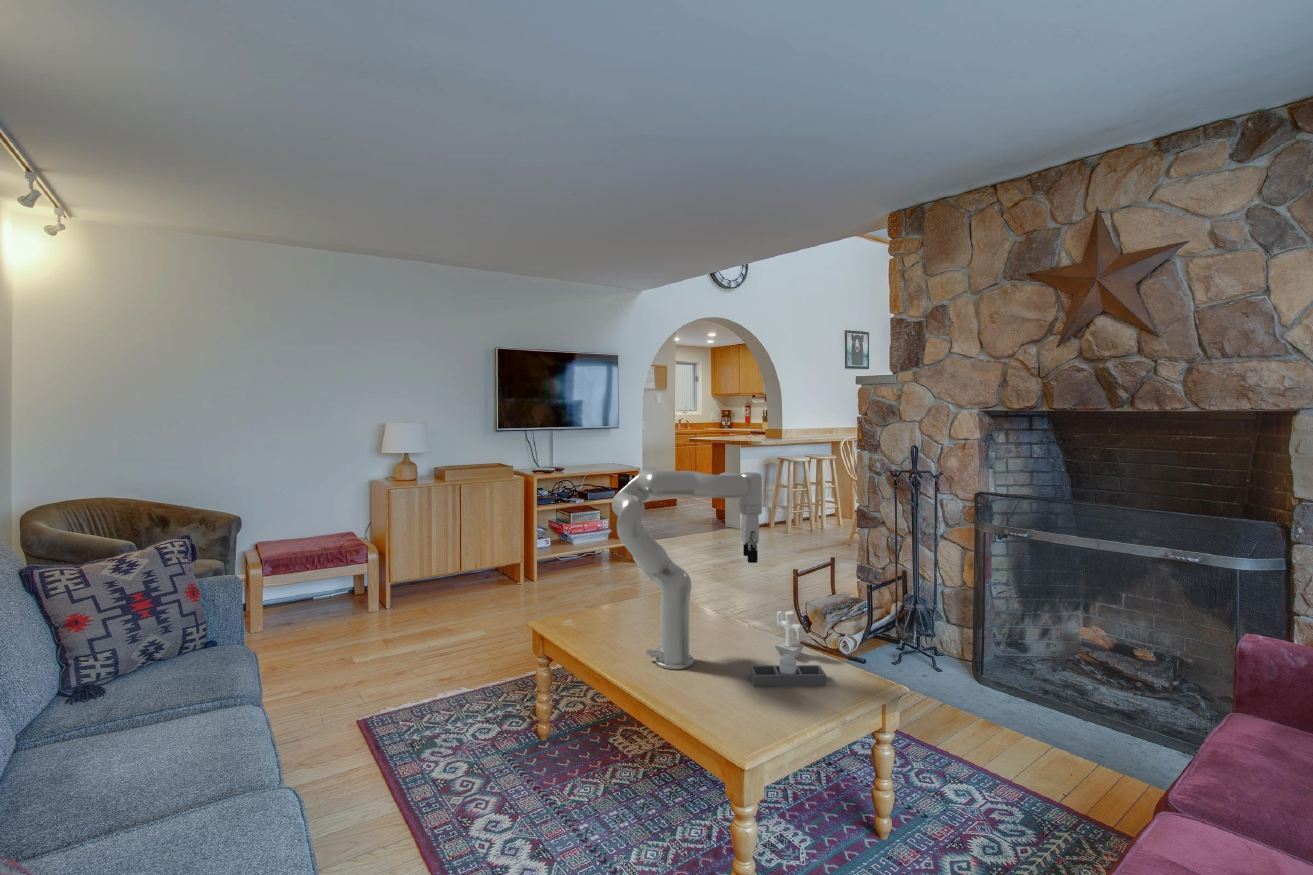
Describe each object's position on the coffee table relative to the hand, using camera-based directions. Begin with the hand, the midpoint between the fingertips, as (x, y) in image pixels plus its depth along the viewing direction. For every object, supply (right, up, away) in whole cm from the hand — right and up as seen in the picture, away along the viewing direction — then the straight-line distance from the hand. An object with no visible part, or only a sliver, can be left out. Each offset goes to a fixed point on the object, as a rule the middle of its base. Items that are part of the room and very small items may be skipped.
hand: (750, 559), depth 219 cm
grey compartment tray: (+8, -33, -21) cm, 40 cm away
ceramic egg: (+8, -33, -22) cm, 40 cm away
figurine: (+13, -33, -1) cm, 35 cm away
